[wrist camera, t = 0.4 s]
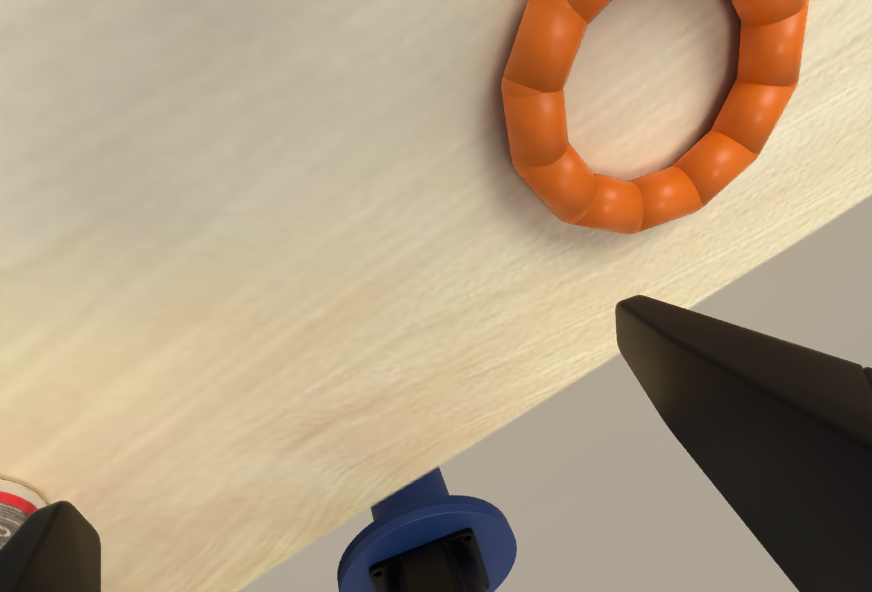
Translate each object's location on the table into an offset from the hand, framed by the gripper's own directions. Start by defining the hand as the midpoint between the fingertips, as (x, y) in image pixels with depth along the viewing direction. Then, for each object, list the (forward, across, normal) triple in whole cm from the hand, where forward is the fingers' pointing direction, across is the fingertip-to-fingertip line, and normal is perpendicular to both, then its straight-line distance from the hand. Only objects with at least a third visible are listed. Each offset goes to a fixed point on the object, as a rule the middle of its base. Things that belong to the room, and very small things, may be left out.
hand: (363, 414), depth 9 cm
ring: (+13, -14, +2) cm, 19 cm away
